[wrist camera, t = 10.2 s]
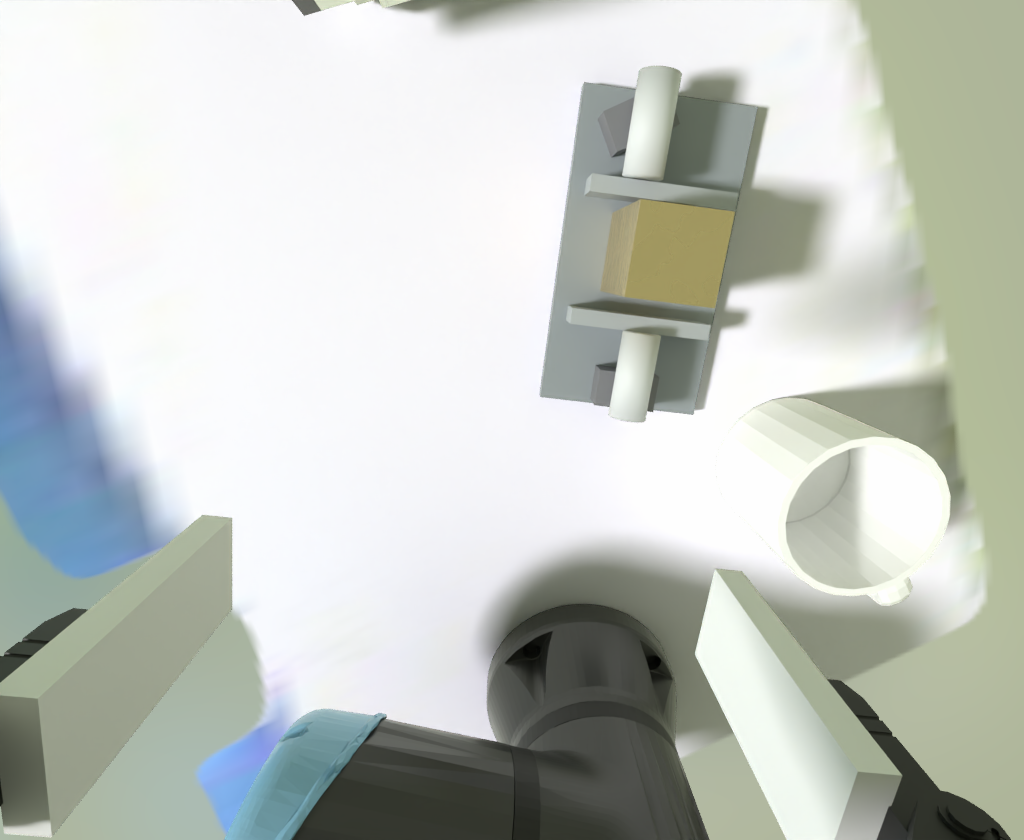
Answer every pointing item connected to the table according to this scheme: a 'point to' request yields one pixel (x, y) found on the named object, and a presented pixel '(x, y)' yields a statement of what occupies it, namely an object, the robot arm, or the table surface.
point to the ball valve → (335, 4)
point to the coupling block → (667, 252)
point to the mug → (835, 497)
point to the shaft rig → (589, 206)
